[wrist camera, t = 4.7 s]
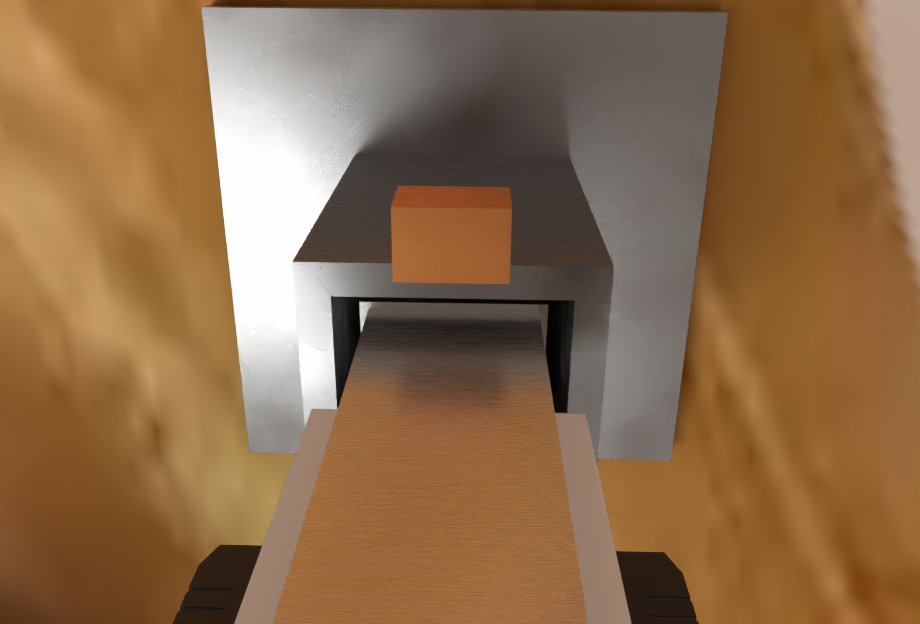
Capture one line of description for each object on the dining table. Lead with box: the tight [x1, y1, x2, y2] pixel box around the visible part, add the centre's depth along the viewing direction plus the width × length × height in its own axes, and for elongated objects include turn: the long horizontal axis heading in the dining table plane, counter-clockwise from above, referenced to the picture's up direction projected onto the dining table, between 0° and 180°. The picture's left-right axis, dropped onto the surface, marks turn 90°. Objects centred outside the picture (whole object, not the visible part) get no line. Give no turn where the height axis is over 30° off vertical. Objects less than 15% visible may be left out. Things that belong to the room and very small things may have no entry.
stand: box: [201, 5, 728, 464], centre depth 24 cm, size 16×16×12 cm
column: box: [273, 297, 588, 624], centre depth 19 cm, size 5×5×22 cm
